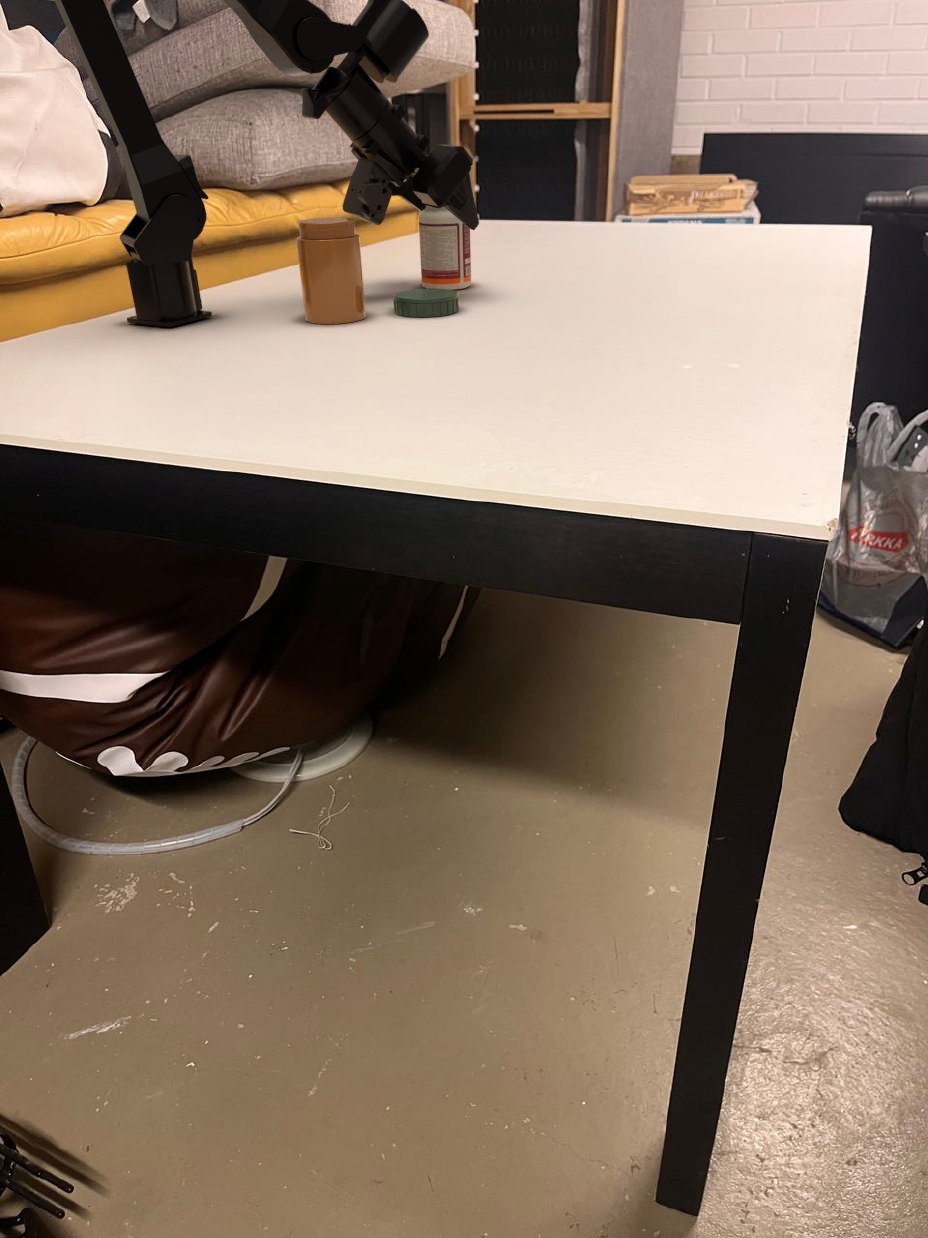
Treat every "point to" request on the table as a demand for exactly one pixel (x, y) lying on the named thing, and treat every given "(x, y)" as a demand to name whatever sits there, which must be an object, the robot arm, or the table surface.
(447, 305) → the jar lid
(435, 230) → the pill bottle
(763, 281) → the table surface
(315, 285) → the jar
